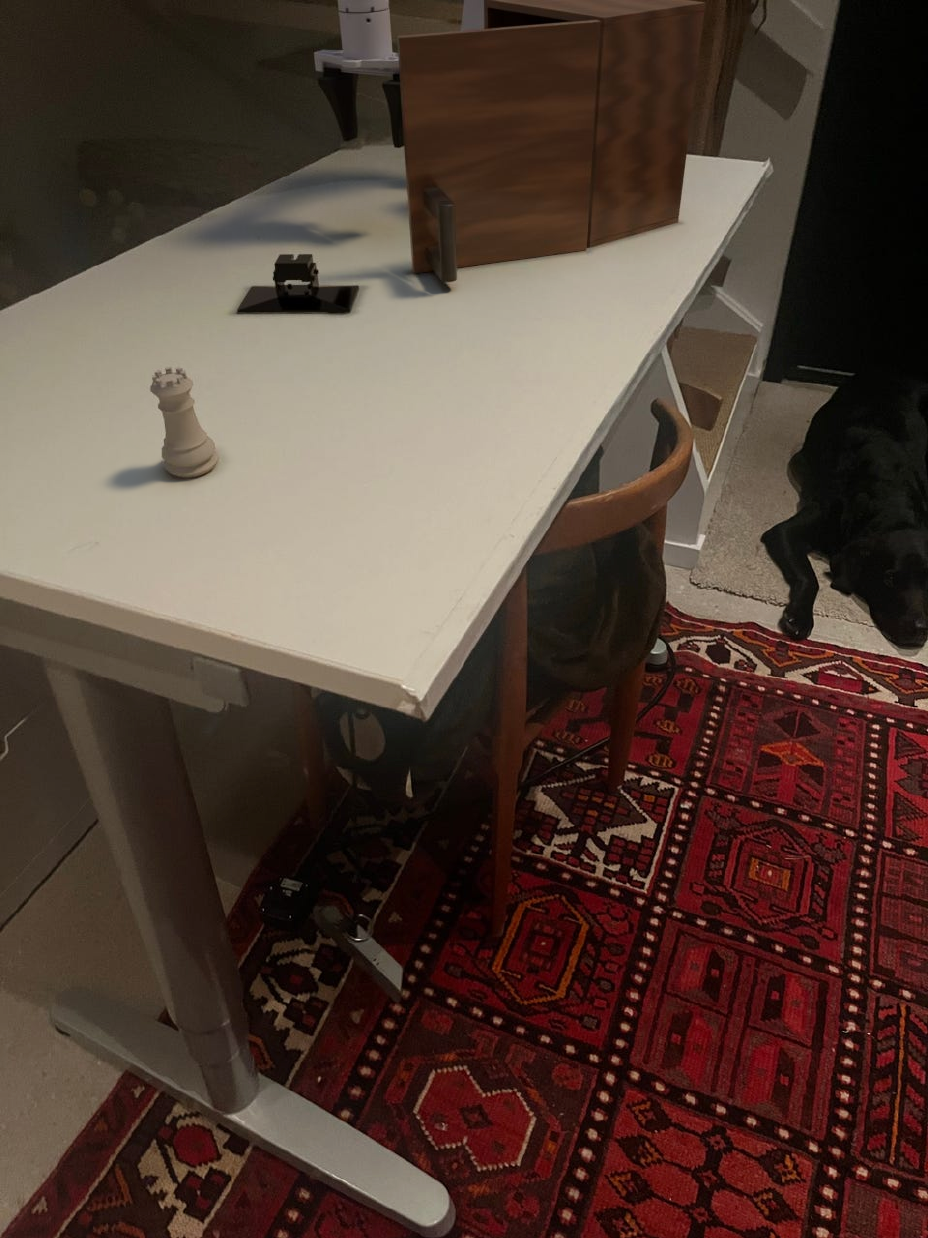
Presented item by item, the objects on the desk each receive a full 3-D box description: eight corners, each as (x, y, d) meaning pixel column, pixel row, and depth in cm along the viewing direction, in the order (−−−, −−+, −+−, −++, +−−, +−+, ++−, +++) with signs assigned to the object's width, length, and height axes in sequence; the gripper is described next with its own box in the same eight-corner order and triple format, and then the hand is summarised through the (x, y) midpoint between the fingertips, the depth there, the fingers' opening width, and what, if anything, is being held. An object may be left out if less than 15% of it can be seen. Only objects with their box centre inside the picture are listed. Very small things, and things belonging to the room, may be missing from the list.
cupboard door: (610, 269, 103) (628, 30, 88) (429, 295, 99) (416, 48, 84) (583, 247, 109) (596, 19, 94) (412, 270, 105) (396, 35, 89)
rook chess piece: (169, 452, 75) (144, 363, 70) (223, 449, 75) (202, 359, 70) (160, 481, 72) (133, 389, 66) (216, 477, 72) (194, 385, 66)
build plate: (359, 289, 102) (355, 247, 98) (350, 315, 96) (345, 271, 93) (252, 288, 102) (244, 246, 99) (236, 314, 97) (228, 271, 94)
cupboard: (589, 248, 109) (604, 17, 94) (485, 206, 123) (483, -2, 107) (678, 222, 115) (705, 2, 100) (570, 185, 129) (579, -14, 113)
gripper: (291, 11, 101) (308, 143, 110) (397, 17, 95) (406, 156, 104) (329, 2, 106) (343, 130, 115) (432, 8, 100) (438, 142, 109)
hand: (375, 142), depth 110 cm, fingers open, 7 cm apart
